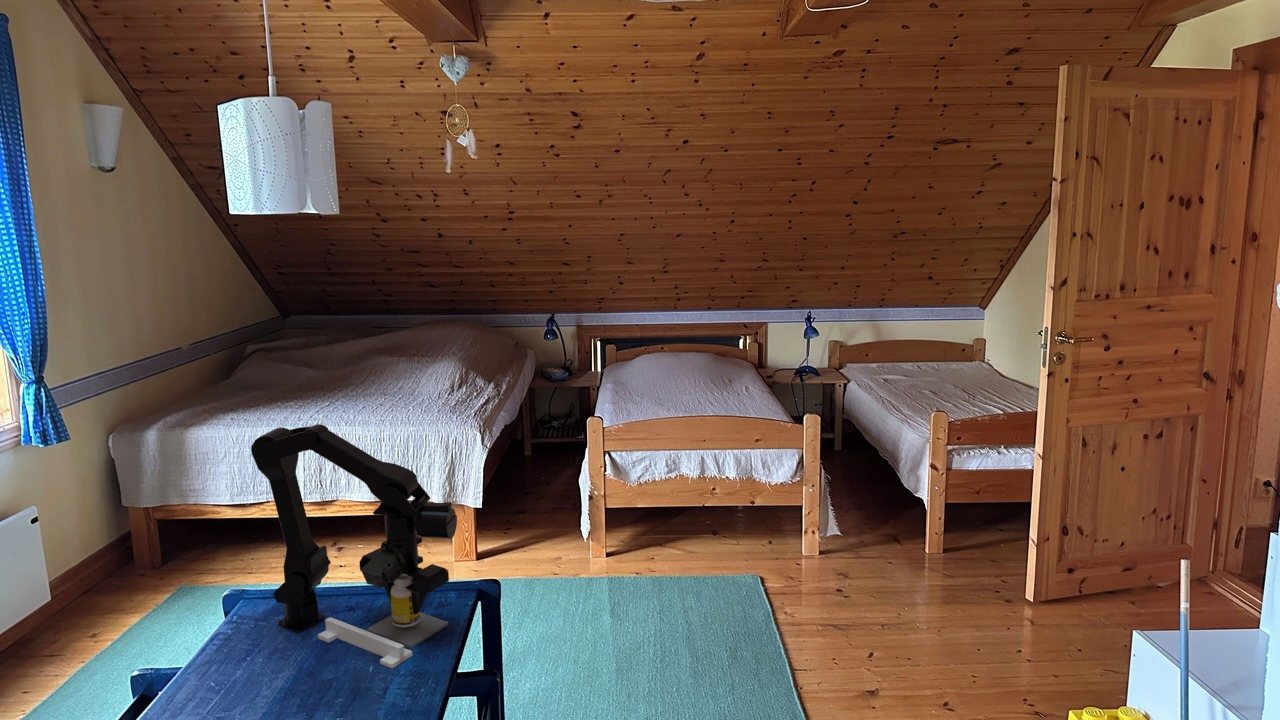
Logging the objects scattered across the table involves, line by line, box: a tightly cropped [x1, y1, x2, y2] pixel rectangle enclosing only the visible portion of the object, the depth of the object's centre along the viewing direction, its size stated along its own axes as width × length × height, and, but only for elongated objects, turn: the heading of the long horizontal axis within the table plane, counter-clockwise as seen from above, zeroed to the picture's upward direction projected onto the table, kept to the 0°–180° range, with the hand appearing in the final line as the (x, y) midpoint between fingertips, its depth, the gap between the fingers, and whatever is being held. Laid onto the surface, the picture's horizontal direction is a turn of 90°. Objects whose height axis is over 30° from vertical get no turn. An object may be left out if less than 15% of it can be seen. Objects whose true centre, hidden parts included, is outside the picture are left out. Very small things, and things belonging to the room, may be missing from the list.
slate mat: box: [365, 612, 449, 649], centre depth 161 cm, size 12×10×1 cm
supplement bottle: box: [390, 575, 421, 628], centre depth 160 cm, size 5×5×10 cm
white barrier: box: [317, 617, 413, 669], centre depth 154 cm, size 20×5×3 cm, turn 60°
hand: (406, 609), depth 160 cm, fingers closed on supplement bottle, 5 cm apart
